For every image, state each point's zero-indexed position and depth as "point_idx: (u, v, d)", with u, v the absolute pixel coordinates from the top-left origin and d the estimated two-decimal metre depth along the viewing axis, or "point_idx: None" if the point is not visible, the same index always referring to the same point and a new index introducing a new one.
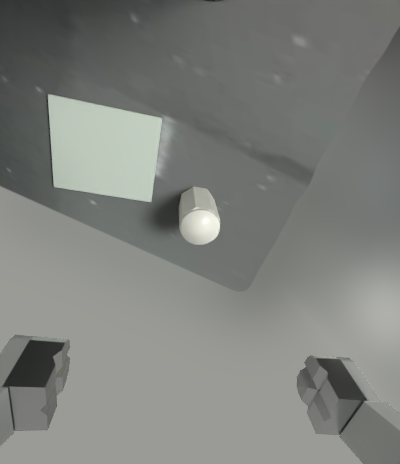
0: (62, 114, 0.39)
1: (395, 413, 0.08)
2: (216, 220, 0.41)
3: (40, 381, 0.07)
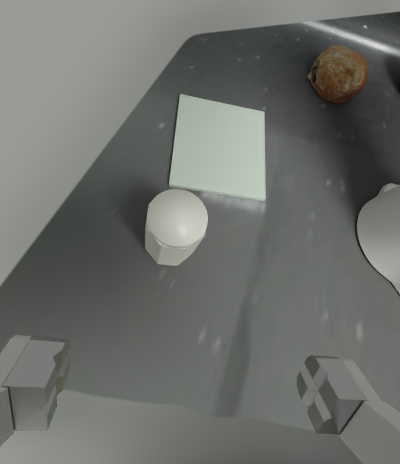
0: (251, 118, 0.44)
1: (395, 413, 0.08)
2: (193, 239, 0.26)
3: (40, 381, 0.07)
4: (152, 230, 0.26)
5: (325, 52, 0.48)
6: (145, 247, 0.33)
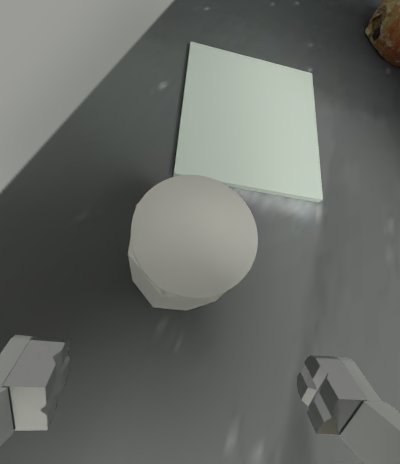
0: (294, 80, 0.30)
1: (395, 413, 0.08)
2: (231, 281, 0.12)
3: (40, 381, 0.07)
4: (142, 263, 0.12)
5: None
6: (132, 279, 0.19)
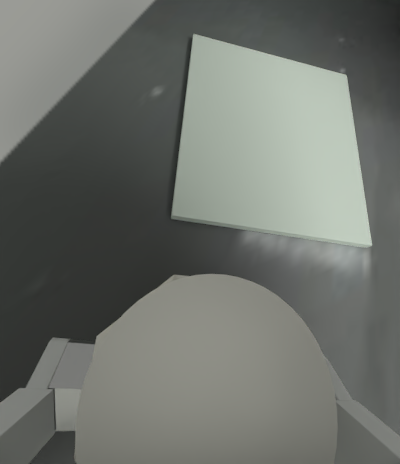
0: (325, 84, 0.23)
1: (365, 412, 0.08)
2: None
3: None
4: None
5: None
6: None
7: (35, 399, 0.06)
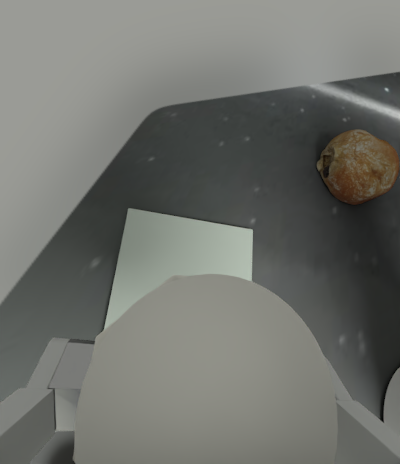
0: (233, 241, 0.30)
1: (365, 412, 0.08)
2: None
3: None
4: None
5: (342, 139, 0.35)
6: None
7: (35, 399, 0.06)
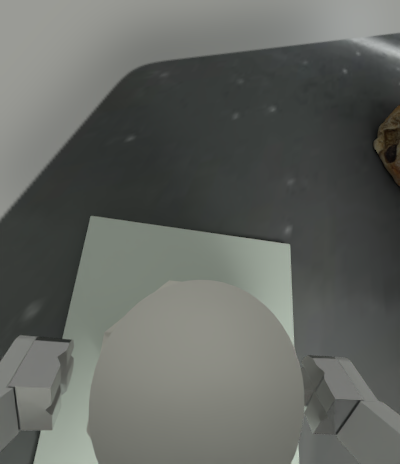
0: (260, 265, 0.19)
1: (391, 413, 0.08)
2: None
3: (45, 381, 0.07)
4: None
5: None
6: None
7: None
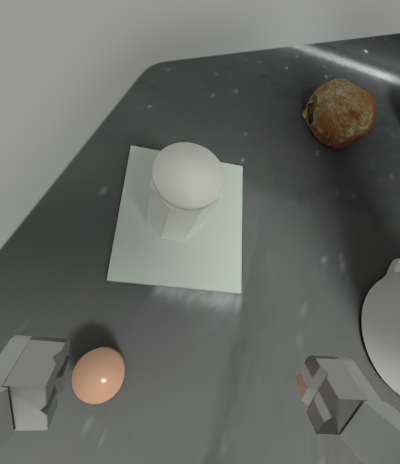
0: (224, 175, 0.34)
1: (395, 413, 0.08)
2: (208, 199, 0.22)
3: (40, 381, 0.07)
4: (159, 188, 0.21)
5: (324, 87, 0.38)
6: (147, 219, 0.29)
7: None
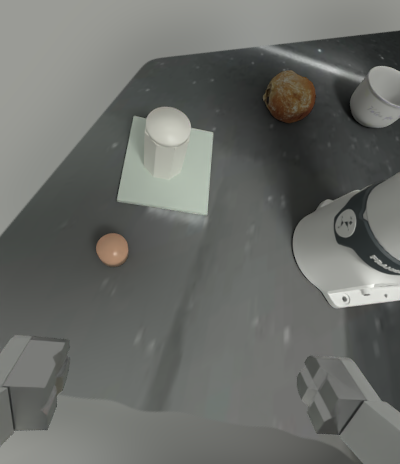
0: (199, 138, 0.48)
1: (395, 413, 0.08)
2: (180, 140, 0.36)
3: (40, 381, 0.07)
4: (149, 132, 0.35)
5: (277, 76, 0.52)
6: (144, 163, 0.43)
7: None
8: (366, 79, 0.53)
